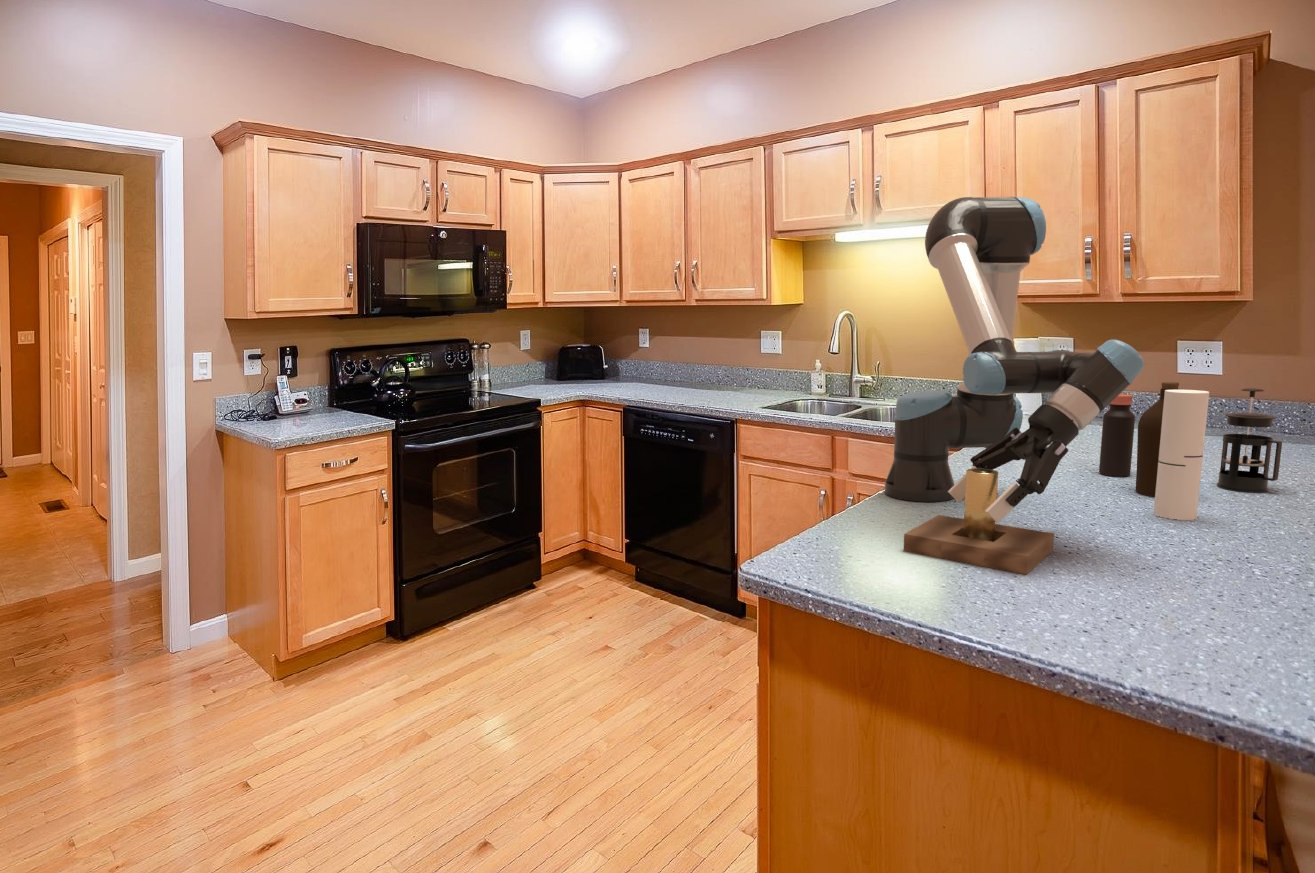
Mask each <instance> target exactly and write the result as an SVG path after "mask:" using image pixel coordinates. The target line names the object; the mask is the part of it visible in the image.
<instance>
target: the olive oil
mask: <svg viewBox="0 0 1315 873" xmlns="http://www.w3.org/2000/svg"><path fill="white" fill-rule="evenodd" d="M1179 386H1180V383H1179V382H1176V381H1175V382H1174V381H1162V382H1161V388H1160V389H1159V390H1160V391H1159V399H1158V400H1157V401H1156V402H1155V403H1153V405H1151V406H1150V407H1149V408H1147V409H1146V410H1145V411H1144V412H1143V413H1142V414H1141V415H1140V418H1139V420H1138V423H1137V443H1136V444H1137V446H1136V447H1137V448H1136V474H1135V475H1136V476H1135V492H1136V493H1137V494H1139V495H1144V496H1147V497H1152V498H1155V493H1156V482H1157V471H1158V461H1159V449H1160V439H1161V428H1162V417H1163V406H1164V395H1165V390H1180V389H1179Z"/></svg>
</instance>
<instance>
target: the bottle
mask: <svg viewBox="0 0 1315 873" xmlns="http://www.w3.org/2000/svg"><path fill="white" fill-rule="evenodd" d="M1132 405H1133V395H1132V394H1122V393H1120V394H1119V395H1118V396H1117V397H1116V398H1115V399H1114V400H1113V401H1112V402H1111V403H1110V404H1109V405H1108V406H1109V410H1107V411H1106V412H1105V413H1104V414H1103V416H1102V418H1103V419H1102V427H1101V429H1102V430H1101V440H1100V454H1099V455H1100V456H1099V466H1098V468H1099V469H1098V473H1099V474H1100V475H1103V476H1106V477H1115V478H1125V477H1130V475H1131V470H1132V469H1131V468H1132V458H1133V448H1134V446H1133V445H1134V435H1135V434H1134V433H1135V424H1136V423H1135V422H1136V416H1135V414H1134V413H1133V412H1132V411H1131V407H1132Z"/></svg>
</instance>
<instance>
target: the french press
mask: <svg viewBox="0 0 1315 873" xmlns="http://www.w3.org/2000/svg"><path fill="white" fill-rule="evenodd" d="M1240 390H1241V392H1242V391H1243V392H1249V398H1250V404H1249V411H1248V412H1236V413H1235V412H1232V413H1230V412H1229V413H1225V414H1224V416H1225V417H1226V418H1227V419H1226V420H1227V424H1228V425H1229V426H1235V427H1244V428H1247V432H1246V433H1225V434H1223V435H1222V441H1223V442H1222V450H1221V459H1220V461H1221V462H1220V470H1219V471H1218V481H1217V482H1216V487H1217V488H1219V489H1223V490H1227V491H1232V492H1238V493H1247V494H1248V493H1250V494H1251V493H1254V494H1257V493H1260V494H1261V493H1267V492H1268V491H1269V488H1268V485H1269V484H1268V483H1269V482H1270V481H1271V482H1274V481H1278V479H1279V475H1280V474H1279V472H1280V465H1281V464H1280V463H1281V458H1282V457H1281V455H1282V448H1283V442H1282V441H1280V440H1274V438H1273V437H1270V436H1265V435H1259V434H1250V428H1271V427H1272V426H1273V420H1274V419H1276V416H1274V415H1271V414H1264V413H1257V412H1252V409H1253V399H1254V398H1255V397H1256V396H1255V395H1256V392H1265V390H1264V389H1261V388H1255V387H1254V388H1253V387H1249V388H1248V387H1246V388H1245V387H1244V388H1241V389H1240ZM1229 444H1231V450H1230V457H1227V455H1228V449H1229V448H1228V447H1229ZM1273 444H1276V445H1275V454H1274V456H1275V457H1274V462H1273V464H1274V465H1273V473H1272V477H1269V471H1270V462H1271V461H1270V460H1271V453H1272V446H1273ZM1242 446H1245V448H1244V455H1243V456H1242V457H1241V448H1242ZM1248 446H1251V454H1250V458H1249V456H1248V454H1247V453H1248ZM1263 446H1265V454H1264V455H1265V456H1264V460H1263V459H1261V454H1262V453H1261V452H1262V451H1261V450H1262V447H1263ZM1226 464H1227V465H1229V468H1228V469H1226ZM1240 466H1241V467H1249V471H1248V470H1240V469H1239V467H1240ZM1261 467H1262V468H1263V473H1260V472H1259V469H1260V468H1261Z"/></svg>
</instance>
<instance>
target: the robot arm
mask: <svg viewBox="0 0 1315 873" xmlns="http://www.w3.org/2000/svg"><path fill="white" fill-rule="evenodd" d="M1046 234H1047V222H1046V217H1045V213H1044V210H1043V208H1041V206H1040V204H1039V203H1038V202H1037V201H1036V200H1034V199H1032V198H1030V197H1021V196H1014V195H1013V196H985V197H981V196H980V197H973V196H964V197H958V198H955V199H953V200H950V201H949V202H948V203H947V202H946V203H945V204H944V205H943V206H942V207H940V208H939V209H938V210H937V211H936V213H935V214H934V215H933V216H932V218H931V220H930V221H929V223H928V226H927V228H926V232H925V237H924V248H925V252H926V256H927V259H928V262H929V263H930V266H932V267H933V268H934V269H936V270H937V271H938V273H939V276H940V280H941V281H942V284H943V286H944V289H945V293H946V295H947V297H948V300H949V302H950V305H951V308H952V311H953V313H954V316H955V319H956V321H957V324H958V326H959V327H958V328H959V329H960V332H961V335H962V338H963V341H964V342H965V346H966V348H967V351H968V352H967V353H968V354H967V356H966V358H965V360H964V362H963V366H962V374H963V378H962V380H963V381H962V382H961V383H960V384H958V385H957V389H956V395H954V396H953V395H952V392H951V391H950V390H944V389H934V390H922V391H916V392H915V391H914V392H910V393H906V394H903V395H901V396H900V397H899V398H897V401H896V404H895V405H896V406H895V413H894V416H893V417H894V439H893V440H894V445H893V446H894V447H893V448H894V449H893V461H892V462H891V463H892V464H891V466H890V469H889V472H888V475H887V477H886V479H885V482H884V493H885V495H886V496H888V497H891V498H894V499H899V500H904V501H905V500H906V501H911V502H913V501H914V502H925V503H926V502H927V503H929V502H930V503H931V502H945V501H950V500H953V499H954V500H955V501H956V502H958V503H960V502H961V501H962V500H963V499H965V492H966V473H964V474H963V476H961V478H960V479H959V480H958V481H956V483H955V482H954V478H953V475H952V472H951V468H950V464H949V450H950V449H974V448H984V449H983V450H981V451H980V452H978V453H977V454H975V455H973V456H972V457H971V458H970V460H969V461H970V462H971V463H972V464H971V466H972V467H971V468H970V469H974V468H981V469H991V470H996V469H998V468H999V467H1002V466H1004V465H1006V464H1008V463H1010V462H1012V461H1021V460H1024V464H1023V467H1022V471H1021V474H1020V478H1017V479H1015V482H1013V483H1011V485H1010V486H1009V487H1008V488H1006V489H1005V491H1003V493H1001V495H999V497H997V500H996V501H995V502H994V503H993V504H991V505H990V506H989V507H988V508H987V509H986V510H985V511H986V512H987V513H988V514H989V515H990V516H991V517H992V518H993V519H994V520H995V523H996V524H999V523H1000V522H1001V521H1002V520H1003V519H1004V518H1005V517H1006V516H1007V515H1008V514H1009V513H1010V512H1011V511H1012V510H1013V509H1014V508H1015V507H1017V505H1018V504H1020V503H1021V502H1022V501H1023V500H1024V499H1025V498H1026V497H1027V496H1028V495H1030V496H1031V495H1033V494H1034V493H1036V494H1037V495H1041V494H1043V493H1044V492H1045V490H1046V488H1047V486H1048V485H1049V483H1050V481H1051V479H1052V477H1053V475H1054V473H1055V471H1056V470H1057V467H1058V465H1059V464H1060V462H1061V460H1062V459H1063V458H1064V457H1065V455H1067V453H1068V452H1069V449H1068V448H1067V446H1068V445H1069V444H1070V443H1071V442H1072V441H1073V440H1074V439H1075V438H1076V437H1077V436H1079V433H1080V432H1079V431H1083V430H1085V428H1086V427H1087V426H1088V425H1091V423H1092V421H1093V420H1094V419H1095V418H1096V417H1097V416H1098V415H1099V414H1100V413H1102V411H1104V410H1105V409H1106V408H1107V407H1108V406H1109V404H1110V403H1111V402H1112V401H1113V400H1114V399H1115V398H1116V397H1117V396H1118V395H1119V394H1122V392H1123V391H1125V390H1126V389H1127V388H1128V387H1129V386H1130V385H1132V384H1133V381H1134V380H1135V379H1136V378H1137V377H1138V376H1139V374H1140V373H1141V372H1142V371H1143V370H1144V368H1145V361H1144V358H1143V357H1142V356H1141V354H1140V353H1139V352H1138V351H1137V349H1135V348H1134V347H1133V346H1131V345H1130V344H1128V343H1126V342H1124V341H1122V340H1119V339H1109V340H1106V341H1105V342H1103V344H1101V345H1100V346H1097V348H1096V350H1095V351H1094V352H1080V351H1079V352H1078V351H1070V350H1067V349H1060V350H1059V349H1055V350H1048V351H1017V350H1016V347H1015V346H1014V343H1013V338H1014V329H1015V321H1016V312H1017V305H1018V303H1017V302H1018V295H1019V289H1020V288H1019V287H1020V279H1021V272H1022V270H1024V269H1025V268H1026V267H1028V266H1029V265H1030V262H1031V261H1030V260H1031V256H1032V255H1034V254H1036V253H1038V252H1039V251H1040V250H1041V249H1042V245H1043V244H1044V243H1045V239H1046ZM1014 394H1051V395H1049V397H1048V398H1047V399H1046V400H1045V401H1044V402H1045V403H1044V404H1041V405H1040V406H1039V407H1037V408H1036V410H1035V411H1034V412H1033V413H1031V415H1029V416H1028V418H1027V422H1028V425H1029V427H1028V428H1027V429H1026V430H1025V431H1023V432H1022V431H1021V427H1022V425H1023V424H1022V423H1023V414H1024V412H1023V410H1022V403H1021V401H1020V399H1019V398H1018V397H1016V396H1015V395H1014Z"/></svg>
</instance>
